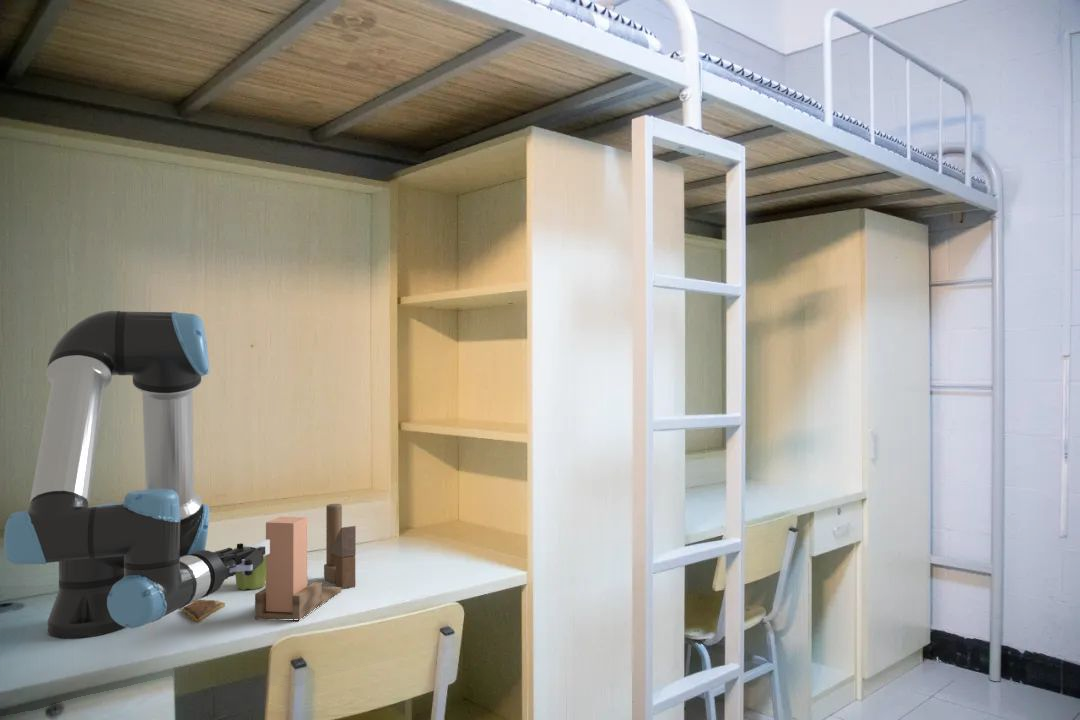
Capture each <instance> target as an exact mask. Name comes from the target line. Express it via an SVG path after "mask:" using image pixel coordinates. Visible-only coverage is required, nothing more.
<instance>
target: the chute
mask: <svg viewBox="0 0 1080 720" xmlns="http://www.w3.org/2000/svg"><path fill="white" fill-rule="evenodd" d="M322 584H323V583H322V581H314V582H312V583H311V584H309V585H307V587H306V588H304V589H303V590H301V591H299V592H298V593H296V594H294V595H293V596H292V613H291V612H271V611H266V587H265V588H263V589H262V590H260V591H258V592H256V593H254V619H255V620H269V619H293V620H294V619H298V620H300V619H301V618H303V617H304V616H306V615H307V614H309V613H310V612H311V611H313V610H314V609H315V608H317V607H318V606H320V605H322V604H323V603H325V602H326V601H327V602H329V601H330V600H331V598H332V597H333V598H335V597H334V596H335V595H336V596H338V595H339V594H340V593H341V592H342V589H341V587H337V586H323V585H322ZM338 593H339V594H338ZM333 598H332V599H333ZM329 599H330V600H329ZM328 600H329V601H328ZM327 602H326V603H327ZM326 603H325V604H326ZM323 605H324V604H323ZM323 605H322V606H323ZM320 607H321V606H320ZM317 609H318V608H317ZM313 612H314V611H313ZM310 614H311V613H310ZM310 614H309V615H310ZM307 616H308V615H307ZM307 616H306V617H307ZM303 619H304V618H303ZM300 621H301V620H300Z"/></svg>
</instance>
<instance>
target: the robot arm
mask: <svg viewBox="0 0 1080 720" xmlns="http://www.w3.org/2000/svg"><path fill="white" fill-rule="evenodd" d="M204 325H205V324H204V323H203V320H202V318H201V317H200V316H198V315H197V314H195V313H183V312H177V311H172V312H168V311H166V312H165V311H163V312H162V311H120V310H109V311H101V312H98V313H94V314H92V315H90V316H88V317H85V318H84V319H83V320H80V321H79V322H77V323H76V324H75V325H73V326H72V327H71V328H70V329H69V330H67V332H65V333H64V334H63V335H62V337H61V338H60V339H59V340H58V342H57V343H56V344H55V346H54V348H53V349H52V352H51V353H50V355H49V358H48V363H47V369H46V373H45V375H46V379H47V381H48V383H50V384H51V385H50V390H49V396H48V402H47V406H46V412H45V417H44V423H43V429H42V434H41V440H40V444H39V450H38V455H37V461H36V467H35V473H34V477H33V481H32V482H33V483H32V487H31V492H30V493H31V494H30V498H29V499H30V501H29V507H28V510H27V509H26V510H22V511H17V512H12V513H11V514H10V515H9V516H8V518H7V521H6V523H5V528H4V535H3V547H4V554H5V557H6V559H7V561H8V562H9V563H11V564H13V565H46V564H47V563H48V564H49V563H58V590H57V591H58V592H57V595H56V597H55V600H54V602H53V606H52V608H51V610H50V611H51V612H50V613H49V617H48V619H47V633H48V635H50V636H52V637H56V638H63V639H64V638H66V639H67V638H68V639H70V638H71V639H73V638H76V639H77V638H87V637H92V636H99V635H104V634H109V633H111V632H115V631H118V630H121V629H124V628H129V629H136V628H140V627H142V626H146V625H147V624H150V623H154V622H157V621H160V620H161V619H162V618H164V617H165V616H167V615H169V614H171V613H173V612H176V611H178V610H179V611H182V609H184V607H185V606H187V605H189V604H191V603H193V602H195V601H197V600H202V599H204V598H205V597H208V596H210V595H212V594H214V593H216V592H217V591H219V589H220V588H221V587H222V585H223V583H224V581H225V580H227V579H228V578H231V577H234V576H235V574H236V572H240V571H242V574H245V575H248V576H249V575H252V574H253V570H255V569H256V568H257V567H258V566H259V565H261V564H262V563H263V556H265V555H267V554H270V540H268V539H266V538H265V539H260V540H258V541H255V542H252V543H250V544H247V545H244V543H237V544H236V547H235V548H236V549H234V548H232V547H227V548H223V549H221V550H215V551H210V550H208V549H207V550H206V545H207V540H208V539H207V538H208V531H209V523H210V506H209V505H208V504H205V503H203V501H202V497H201V496H200V495H199V494H198V492H195V490H194V489H195V488H194V485H195V484H194V416H193V415H194V414H193V413H194V407H193V406H194V403H193V402H194V401H193V400H194V398H193V391H194V390H196V389H197V388H198V387H199V386H200V385H201V384H202V377H204V376H206V375H209V373H210V360H209V353H208V342H207V336H206V331H205V326H204ZM113 376H132V385H133V387H134V388H135V389H137V390H138V391H140V392H141V393H142V397H141V398H142V417H143V418H142V419H143V421H142V422H143V424H142V425H143V445H144V446H143V450H144V473H145V474H144V475H145V476H144V477H145V489H139V490H133V491H129V492H127V493H126V494H125V495H124V499H123V500H124V501H123V502H122V501H120V502H108V503H103V504H98V505H97V504H96V505H92V506H89V505H90V499H91V490H92V483H93V482H92V481H93V473H94V467H95V460H96V459H95V458H96V450H97V443H98V435H99V427H100V426H99V425H100V419H101V411H102V410H101V409H102V403H103V397H104V396H103V395H104V389H105V388H107V387H108V386H109V385H110V383H111V381H112V377H113ZM243 546H245V548H243ZM232 549H233V550H232Z"/></svg>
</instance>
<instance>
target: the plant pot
mask: <svg viewBox="0 0 1080 720" xmlns="http://www.w3.org/2000/svg"><path fill="white" fill-rule="evenodd" d="M245 546H246V545H243V548H245ZM236 548H237V547H234V548H232V550H233V549H236ZM234 576H235V583H236V588H237V589H238V590H241V591H246V590H253V589H254V590H257V589H262V588H263V587H265V586H266V555H265V556H263V563H262V564H261V565H259V566H258V567H257V568H256V569H255V570H253V574H252V575H249V576H248V575H245V574H242V571H240V572H236V574H235V575H234ZM261 587H262V588H261Z"/></svg>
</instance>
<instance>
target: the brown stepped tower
mask: <svg viewBox="0 0 1080 720" xmlns="http://www.w3.org/2000/svg"><path fill="white" fill-rule="evenodd" d="M325 509H326V512H325V514H326V515H325V517H326V524H325V525H326V526H325V528H326V529H325V531H326V540H325V541H326V543H325V545H326V548H325V550H326V551H325V553H326V561H325V562H326V563H325V564H324V565H323V579H324V580H325V581H327V582H329V583H331V584H332V585H335V587H341V590H344V589H345V588H346V589H351V588H355V587H356V545H357V544H356V540H357V539H356V531H357V530H356V529H357V526H356V525H352V526H344V527H343V506H342V504H341V503H329V504H326V508H325ZM350 587H351V588H350ZM346 589H345V590H346Z"/></svg>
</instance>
